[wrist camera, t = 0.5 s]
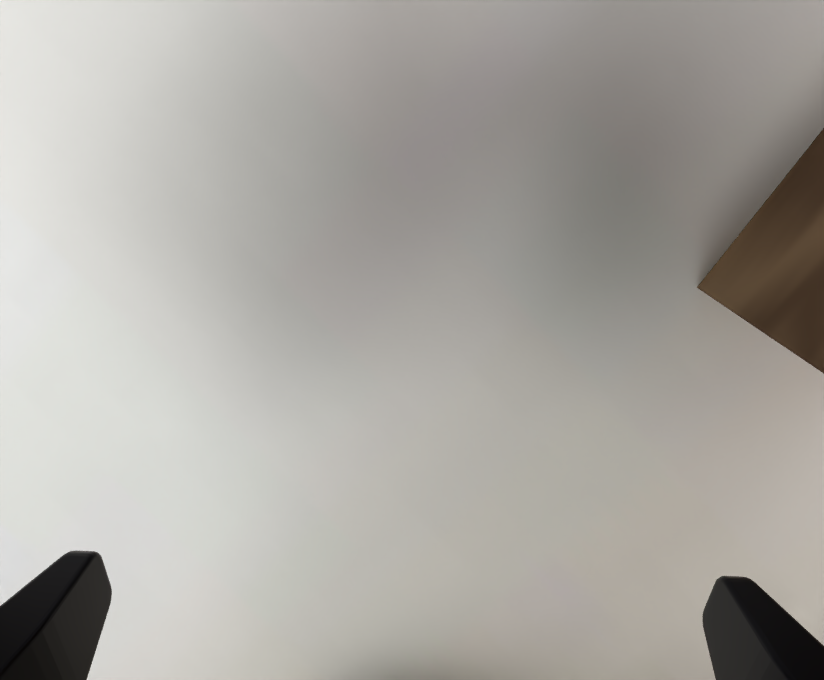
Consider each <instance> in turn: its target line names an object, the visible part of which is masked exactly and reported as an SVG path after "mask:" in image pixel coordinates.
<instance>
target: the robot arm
mask: <svg viewBox="0 0 824 680" xmlns="http://www.w3.org/2000/svg"><path fill="white" fill-rule="evenodd" d="M111 595H112V591H111V585H110V582H109V579H108V576H107V572H106V569H105V566H104V563H103V560H102V557H101V555H100V554H99V553H97V552H94V551H70V552H68V553H66V554H64V555H63V556H62V557H60V558H59V559H58V560H57V561H55V562H54V563H53V564H52V565H50V566H49V567H48V568H47V569H46V570H44V571H43V572H42V573H41V574H39V575H38V576H37V577H36V578H34V579H33V580H32V581H31V582H29V583H28V584H27V585H26V586H24V587H23V588H22V589H21V590H19V591H18V592H17V593H16V594H15V595H13V596H12V597H11V598H10V599H8V600H7V601H6V602H5V603H3V604H2V605H1V606H0V680H87V677H88V673H89V670H90V667H91V664H92V661H93V657H94V654H95V651H96V648H97V645H98V641H99V638H100V635H101V632H102V629H103V626H104V622H105V619H106V616H107V613H108V610H109V606H110V603H111ZM703 628H704V632H705V636H706V641H707V645H708V649H709V653H710V657H711V661H712V666H713V670H714V674H715V678H716V680H824V646H823V645H822V644H821V643H820V642H819V641H818V640H817V639H816V638H815V637H813V636H812V635H811V634H810V633H809V632H808V631H807V630H806V629H805V628H804V627H803V626H802V625H800V624H799V623H798V622H797V621H796V620H795V619H794V618H793V617H792V616H791V615H790V614H789V613H788V612H786V611H785V610H784V609H783V608H782V607H781V606H780V605H779V604H778V603H777V602H776V601H775V600H773V599H772V598H771V597H770V596H769V595H768V594H767V593H766V592H765V591H764V590H763V589H762V588H760V587H759V586H758V585H757V584H756V583H755V582H754V581H752V580H751V579H749V578H747V577H736V576H721V577H720V578H718V579H717V580H716V582H715V584H714V587H713V589H712V592H711V594H710V596H709V599H708V601H707V603H706V606H705V608H704V611H703Z"/></svg>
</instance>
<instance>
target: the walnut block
mask: <svg viewBox="0 0 824 680" xmlns="http://www.w3.org/2000/svg"><path fill="white" fill-rule="evenodd" d="M697 288H698V289H700V290H701V291H703V292H704V293H706V294H707V295H709V296H710V297H712V298H713V299H715V300H716V301H718V302H719V303H721V304H722V305H724V306H725V307H727V308H728V309H729V310H731V311H732V312H734V313H735V314H737V315H738V316H740V317H741V318H743V319H744V320H746V321H747V322H749V323H750V324H752V325H753V326H755V327H756V328H758V329H759V330H760V331H762V332H763V333H765V334H766V335H768V336H769V337H771V338H772V339H774V340H775V341H777V342H778V343H780V344H781V345H783V346H784V347H786V348H787V349H789V350H790V351H792V352H793V353H794V354H796V355H797V356H799V357H800V358H802V359H803V360H805V361H806V362H808V363H809V364H811V365H812V366H814V367H815V368H817V369H818V370H820V371H821V372H823V373H824V129H823V130H822V131H821V133H820V134H819V135H818V136H817V138H816V139H815V140H814V141H813V143H812V144H811V145H810V146H809V148H808V149H807V150H806V151H805V153H804V154H803V155H802V156H801V158H800V159H799V160H798V161H797V163H796V164H795V165H794V167H793V168H792V169H791V170H790V172H789V173H788V174H787V175H786V177H785V178H784V179H783V180H782V182H781V183H780V184H779V185H778V187H777V188H776V189H775V190H774V192H773V193H772V194H771V195H770V197H769V198H768V199H767V200H766V202H765V203H764V204H763V205H762V207H761V208H760V209H759V210H758V212H757V213H756V214H755V215H754V217H753V218H752V219H751V220H750V222H749V223H748V224H747V225H746V227H745V228H744V229H743V230H742V232H741V233H740V234H739V236H738V237H737V238H736V239H735V241H734V242H733V243H732V244H731V246H730V247H729V248H728V249H727V251H726V252H725V253H724V254H723V256H722V257H721V258H720V259H719V261H718V262H717V263H716V264H715V266H714V267H713V268H712V269H711V271H710V272H709V273H708V274H707V276H706V277H705V278H704V279H703V281H702V282H701V283H700V284H699V286H698V287H697Z"/></svg>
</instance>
